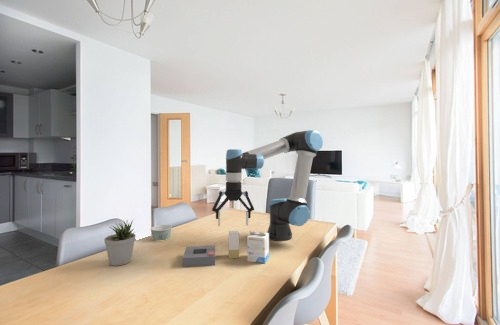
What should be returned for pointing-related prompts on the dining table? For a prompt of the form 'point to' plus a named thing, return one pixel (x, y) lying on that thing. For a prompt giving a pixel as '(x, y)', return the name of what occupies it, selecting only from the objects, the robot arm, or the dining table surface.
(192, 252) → the socket
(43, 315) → the dining table surface
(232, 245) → the plug
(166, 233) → the food container
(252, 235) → the ink box
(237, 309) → the dining table surface
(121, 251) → the potted plant
